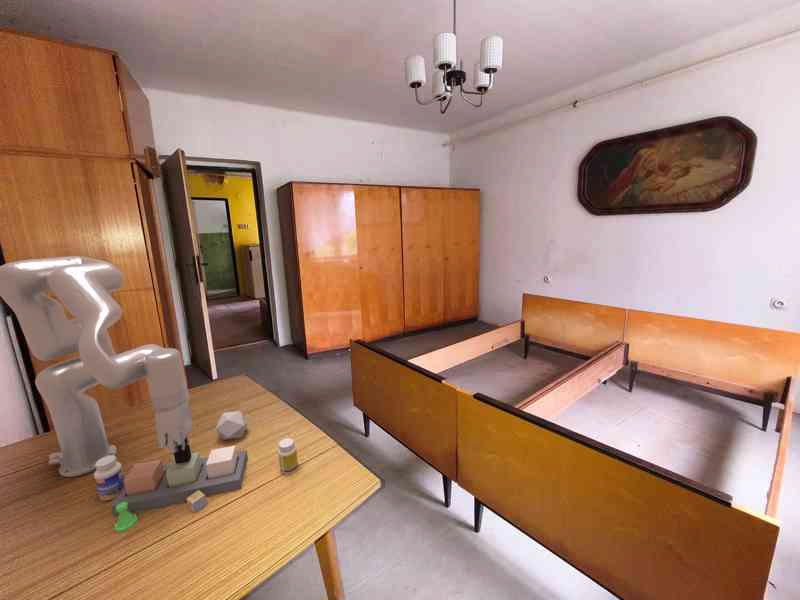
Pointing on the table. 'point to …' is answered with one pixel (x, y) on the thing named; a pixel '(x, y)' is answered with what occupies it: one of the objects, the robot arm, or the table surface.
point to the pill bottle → (109, 477)
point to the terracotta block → (144, 477)
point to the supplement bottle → (287, 456)
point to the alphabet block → (196, 501)
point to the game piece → (124, 518)
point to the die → (231, 425)
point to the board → (184, 488)
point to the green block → (184, 471)
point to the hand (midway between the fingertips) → (183, 460)
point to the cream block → (221, 462)
